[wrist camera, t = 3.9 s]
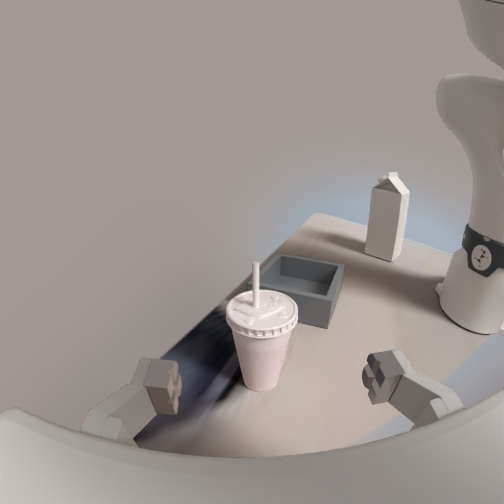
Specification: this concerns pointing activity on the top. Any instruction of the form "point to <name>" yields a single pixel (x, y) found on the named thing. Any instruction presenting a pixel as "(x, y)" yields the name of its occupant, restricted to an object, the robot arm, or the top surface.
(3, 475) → the robot arm
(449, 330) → the top surface
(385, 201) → the milk carton
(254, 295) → the smoothie
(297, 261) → the bin
